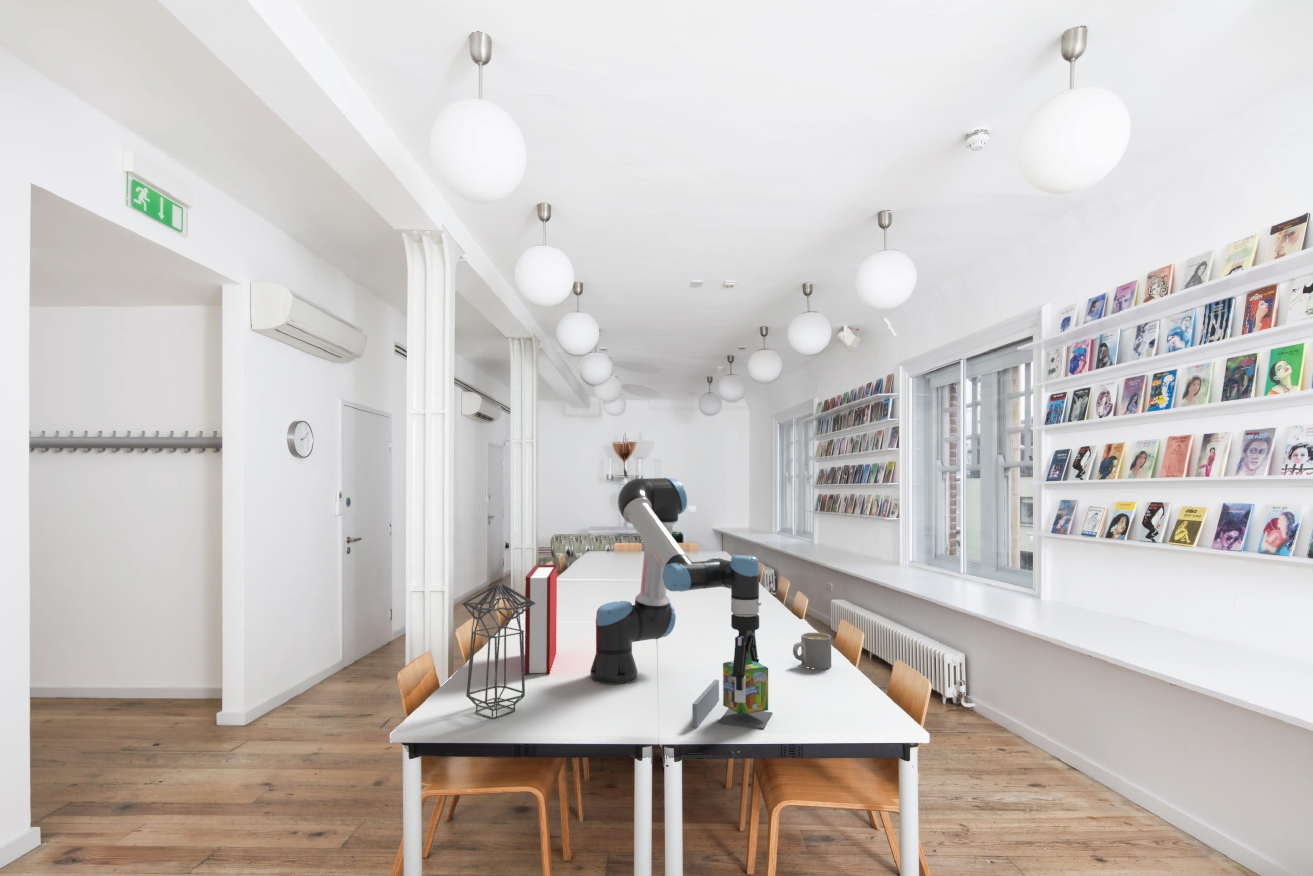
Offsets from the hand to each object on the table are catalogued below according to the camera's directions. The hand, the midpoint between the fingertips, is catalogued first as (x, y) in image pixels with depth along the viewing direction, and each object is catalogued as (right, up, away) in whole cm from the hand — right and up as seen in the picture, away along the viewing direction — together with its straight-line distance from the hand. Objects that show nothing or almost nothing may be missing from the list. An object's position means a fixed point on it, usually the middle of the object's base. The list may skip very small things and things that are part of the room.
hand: (745, 694), depth 181 cm
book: (-64, -9, +52) cm, 83 cm away
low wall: (-10, -7, +3) cm, 13 cm away
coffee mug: (+29, -9, +50) cm, 58 cm away
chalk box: (0, -4, 0) cm, 4 cm away
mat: (0, -6, 0) cm, 6 cm away
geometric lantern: (-68, -7, +6) cm, 69 cm away
